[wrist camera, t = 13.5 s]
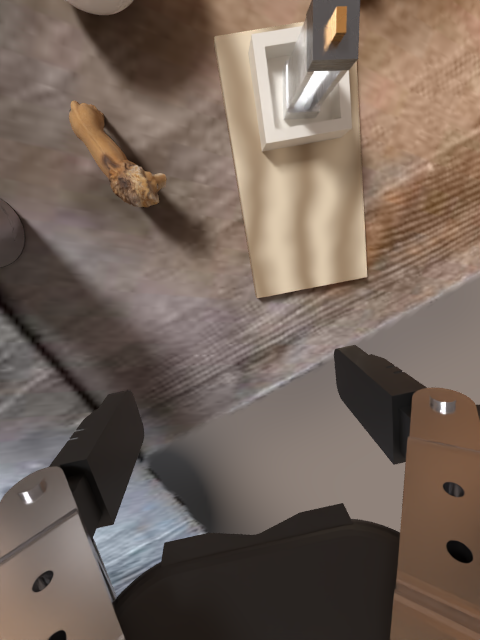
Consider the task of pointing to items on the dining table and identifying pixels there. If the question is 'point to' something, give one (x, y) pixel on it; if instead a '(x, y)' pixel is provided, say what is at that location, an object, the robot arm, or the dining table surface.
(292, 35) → the box
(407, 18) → the dining table surface
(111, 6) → the lidded bowl
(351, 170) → the board
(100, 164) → the lion figurine
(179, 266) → the dining table surface
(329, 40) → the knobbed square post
